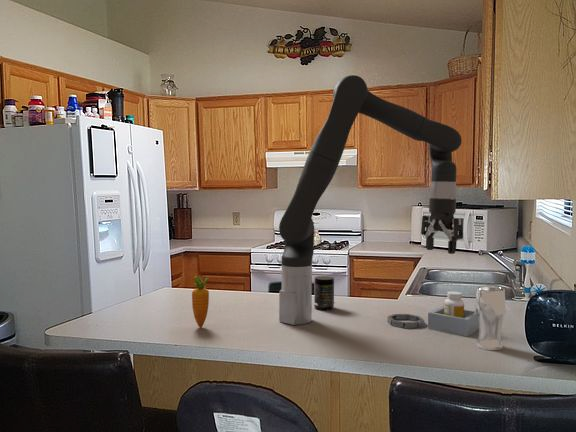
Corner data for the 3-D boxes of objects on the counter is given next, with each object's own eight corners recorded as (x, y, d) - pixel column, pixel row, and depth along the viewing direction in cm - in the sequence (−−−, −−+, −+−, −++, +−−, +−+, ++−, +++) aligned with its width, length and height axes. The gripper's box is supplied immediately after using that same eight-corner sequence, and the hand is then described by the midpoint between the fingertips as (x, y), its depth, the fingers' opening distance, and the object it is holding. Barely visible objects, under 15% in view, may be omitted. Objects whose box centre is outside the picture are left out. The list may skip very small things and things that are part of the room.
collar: (413, 330, 134) (413, 324, 134) (382, 323, 140) (382, 318, 140) (428, 322, 141) (428, 317, 141) (398, 316, 148) (398, 312, 148)
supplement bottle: (465, 325, 137) (466, 292, 136) (461, 329, 132) (462, 295, 132) (446, 322, 140) (447, 289, 139) (441, 326, 135) (442, 293, 135)
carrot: (212, 326, 137) (212, 275, 136) (204, 330, 132) (203, 278, 132) (197, 324, 139) (197, 274, 138) (188, 329, 134) (188, 277, 133)
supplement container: (338, 309, 157) (338, 278, 157) (321, 311, 154) (321, 280, 153) (326, 305, 163) (326, 275, 163) (310, 307, 160) (310, 277, 159)
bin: (466, 336, 128) (467, 319, 128) (427, 328, 136) (428, 312, 135) (481, 327, 137) (481, 312, 136) (443, 320, 144) (444, 305, 144)
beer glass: (502, 353, 115) (503, 292, 114) (472, 347, 119) (473, 289, 118) (505, 345, 121) (507, 287, 120) (477, 340, 125) (478, 284, 124)
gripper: (416, 196, 143) (414, 249, 144) (452, 197, 131) (449, 255, 131) (434, 196, 147) (432, 248, 148) (471, 198, 134) (468, 254, 135)
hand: (440, 251), depth 140 cm, fingers open, 8 cm apart
